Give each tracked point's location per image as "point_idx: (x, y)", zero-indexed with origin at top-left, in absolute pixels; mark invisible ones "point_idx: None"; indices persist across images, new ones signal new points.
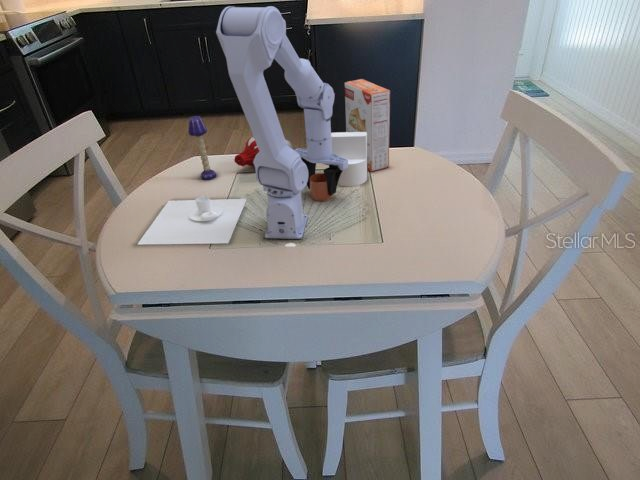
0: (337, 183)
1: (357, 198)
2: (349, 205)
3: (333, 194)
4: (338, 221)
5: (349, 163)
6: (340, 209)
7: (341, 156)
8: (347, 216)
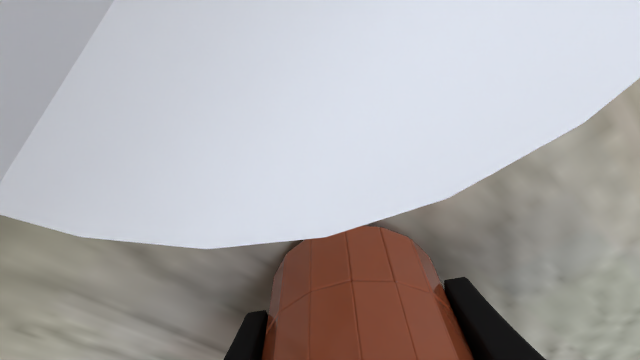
0: (523, 341)
1: (600, 147)
2: (586, 244)
3: (430, 260)
4: (604, 357)
5: (585, 46)
6: (555, 298)
7: (13, 3)
8: (630, 315)
